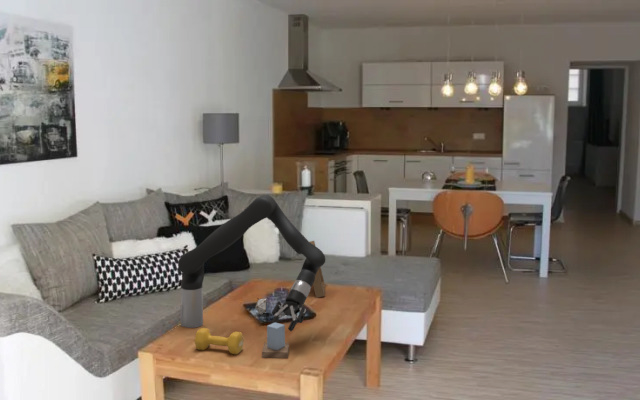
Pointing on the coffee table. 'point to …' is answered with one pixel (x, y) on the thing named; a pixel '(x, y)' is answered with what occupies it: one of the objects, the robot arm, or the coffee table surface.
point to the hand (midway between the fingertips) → (281, 328)
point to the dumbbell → (219, 340)
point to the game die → (261, 306)
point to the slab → (275, 352)
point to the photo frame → (319, 282)
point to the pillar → (275, 336)
